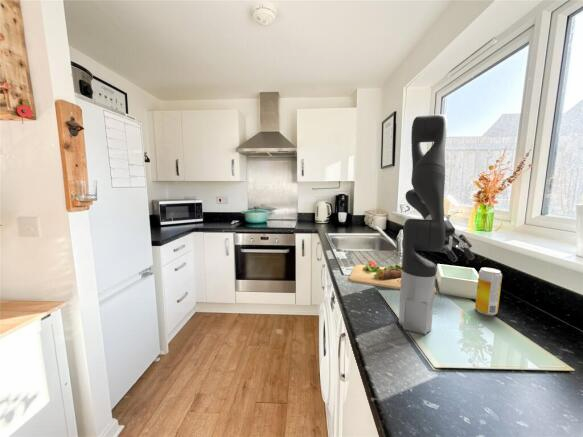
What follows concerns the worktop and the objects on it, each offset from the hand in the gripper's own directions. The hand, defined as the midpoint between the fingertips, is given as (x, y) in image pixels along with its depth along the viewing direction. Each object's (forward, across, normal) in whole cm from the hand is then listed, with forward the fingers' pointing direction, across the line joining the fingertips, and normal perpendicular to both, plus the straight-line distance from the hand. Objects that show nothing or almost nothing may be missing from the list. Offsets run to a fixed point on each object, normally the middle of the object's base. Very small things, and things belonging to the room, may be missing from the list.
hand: (464, 260), depth 91 cm
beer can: (+18, 0, +5) cm, 18 cm away
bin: (+5, +9, +17) cm, 20 cm away
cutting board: (-7, -10, +30) cm, 33 cm away
